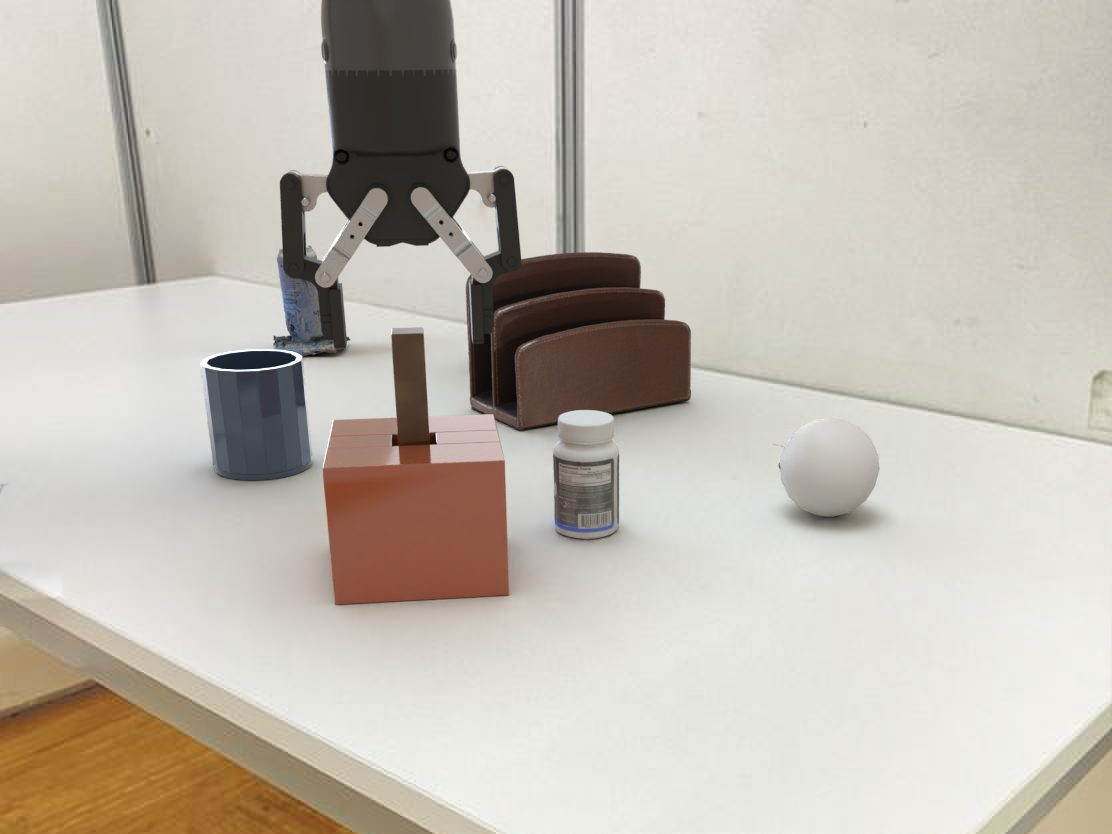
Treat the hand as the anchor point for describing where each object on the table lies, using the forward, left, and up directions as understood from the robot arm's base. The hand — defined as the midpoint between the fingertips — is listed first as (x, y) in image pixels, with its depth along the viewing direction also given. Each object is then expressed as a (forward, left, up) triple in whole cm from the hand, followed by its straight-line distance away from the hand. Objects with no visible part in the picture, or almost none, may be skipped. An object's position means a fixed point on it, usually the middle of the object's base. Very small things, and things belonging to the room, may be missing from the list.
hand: (409, 343), depth 79 cm
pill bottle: (+12, +6, -15) cm, 20 cm away
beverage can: (-12, +70, -15) cm, 73 cm away
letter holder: (+16, +41, -15) cm, 46 cm away
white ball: (+30, +8, -15) cm, 35 cm away
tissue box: (0, 0, -15) cm, 15 cm away
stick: (0, 0, -15) cm, 15 cm away
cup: (-13, +25, -15) cm, 32 cm away
